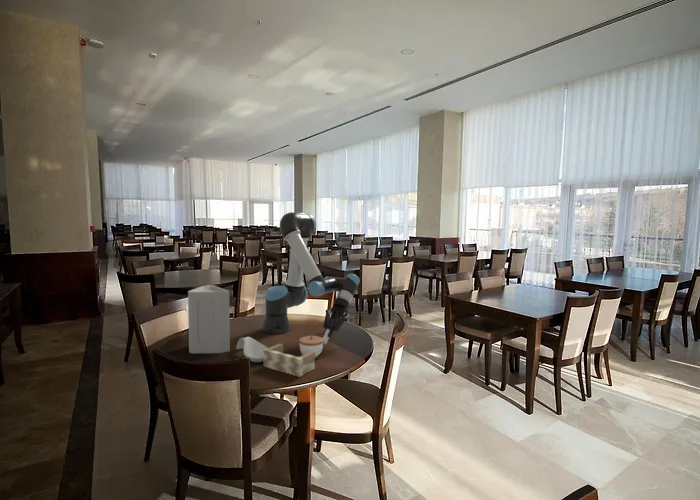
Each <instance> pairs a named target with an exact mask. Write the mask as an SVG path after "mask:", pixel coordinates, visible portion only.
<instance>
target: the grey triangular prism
mask: <svg viewBox="0 0 700 500" xmlns="http://www.w3.org/2000/svg"><path fill="white" fill-rule="evenodd" d="M187 299H188V300H187V301H188V302H187V304H188V308H187V309H188V310H187V311H188V352H189V353H190V354H223V353H227V352H230V348H231V347H230V345H231V343H230V341H231V339H230V338H231V337H230V335H231V334H230V331H231V330H230V329H231V328H230V327H231V326H230V322H231V321H230V317H231V316H230V290H227V289H225V288H222V287H219V286H216V285H214V284H213V285H212V284H209V285H207V284H206V285H202V286H199V287H195V288H193V289H190V290H188V291H187Z"/></svg>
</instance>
